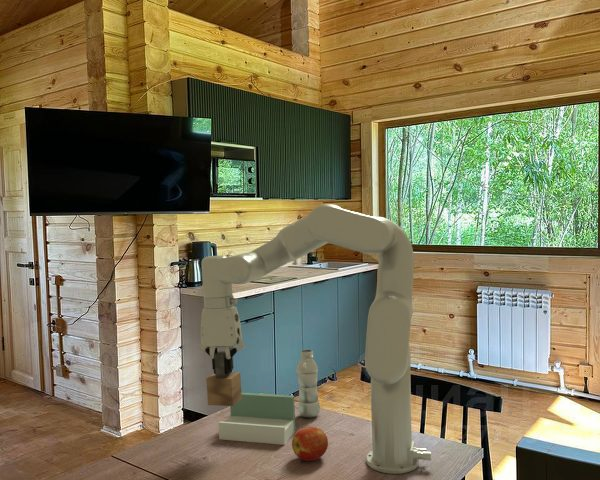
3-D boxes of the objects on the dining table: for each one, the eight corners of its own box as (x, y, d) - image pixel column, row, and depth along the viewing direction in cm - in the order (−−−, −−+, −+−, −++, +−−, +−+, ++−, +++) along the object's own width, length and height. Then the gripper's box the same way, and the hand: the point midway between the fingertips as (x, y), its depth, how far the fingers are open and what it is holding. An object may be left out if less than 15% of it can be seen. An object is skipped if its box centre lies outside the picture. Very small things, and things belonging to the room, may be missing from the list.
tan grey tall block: (241, 398, 145) (238, 350, 144) (233, 406, 139) (229, 355, 138) (217, 397, 147) (214, 349, 146) (208, 405, 141) (204, 355, 140)
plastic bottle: (318, 420, 161) (316, 353, 160) (296, 419, 163) (293, 353, 162) (321, 412, 168) (319, 348, 167) (300, 411, 169) (298, 348, 168)
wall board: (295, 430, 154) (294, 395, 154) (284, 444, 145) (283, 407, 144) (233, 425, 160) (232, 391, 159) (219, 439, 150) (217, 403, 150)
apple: (288, 456, 138) (287, 425, 137) (317, 449, 141) (316, 419, 141) (303, 469, 130) (302, 436, 130) (333, 461, 134) (332, 429, 134)
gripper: (252, 300, 143) (257, 369, 144) (197, 301, 148) (201, 368, 148) (241, 305, 136) (246, 377, 137) (183, 305, 140) (188, 376, 141)
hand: (223, 372), depth 142 cm, fingers closed on tan grey tall block, 2 cm apart
